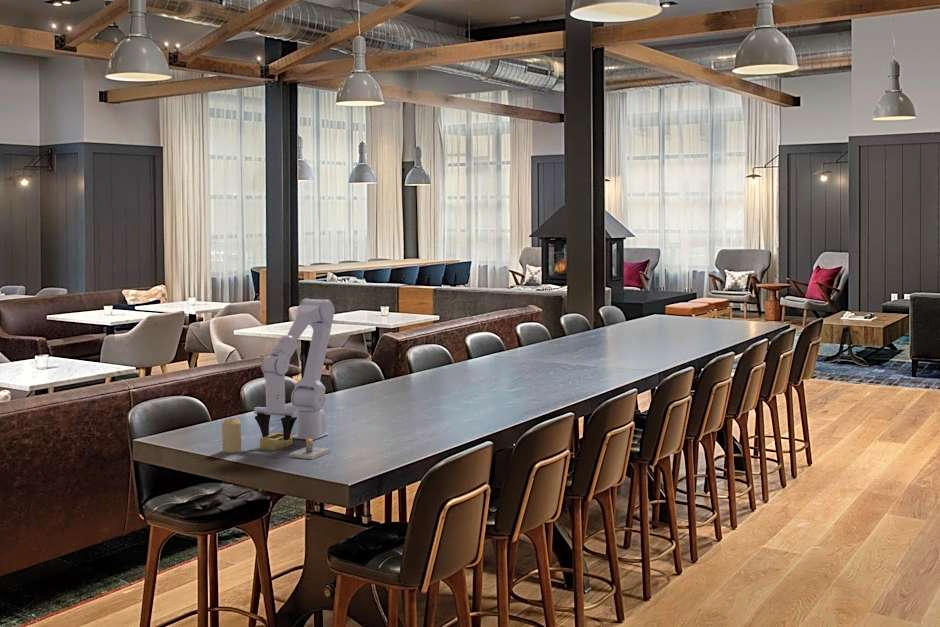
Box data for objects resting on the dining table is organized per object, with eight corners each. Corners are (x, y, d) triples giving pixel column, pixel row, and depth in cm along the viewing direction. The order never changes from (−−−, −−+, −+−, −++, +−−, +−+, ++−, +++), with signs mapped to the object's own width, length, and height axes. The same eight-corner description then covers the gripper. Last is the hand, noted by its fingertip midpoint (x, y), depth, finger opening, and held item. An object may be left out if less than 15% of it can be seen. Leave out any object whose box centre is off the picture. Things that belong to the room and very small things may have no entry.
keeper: (307, 449, 305) (307, 434, 304) (330, 452, 302) (330, 437, 301) (288, 456, 296) (288, 441, 295) (312, 459, 292) (311, 444, 292)
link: (277, 442, 314) (277, 432, 314) (292, 444, 312) (292, 434, 312) (260, 448, 306) (259, 438, 306) (275, 450, 304) (275, 439, 304)
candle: (243, 448, 306) (242, 416, 305) (239, 452, 301) (238, 419, 300) (224, 448, 306) (223, 416, 305) (220, 453, 301) (220, 419, 300)
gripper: (247, 395, 307) (248, 439, 308) (288, 398, 301) (288, 443, 302) (261, 391, 313) (262, 434, 314) (301, 394, 308) (301, 438, 309)
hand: (276, 438), depth 309 cm, fingers open, 7 cm apart
